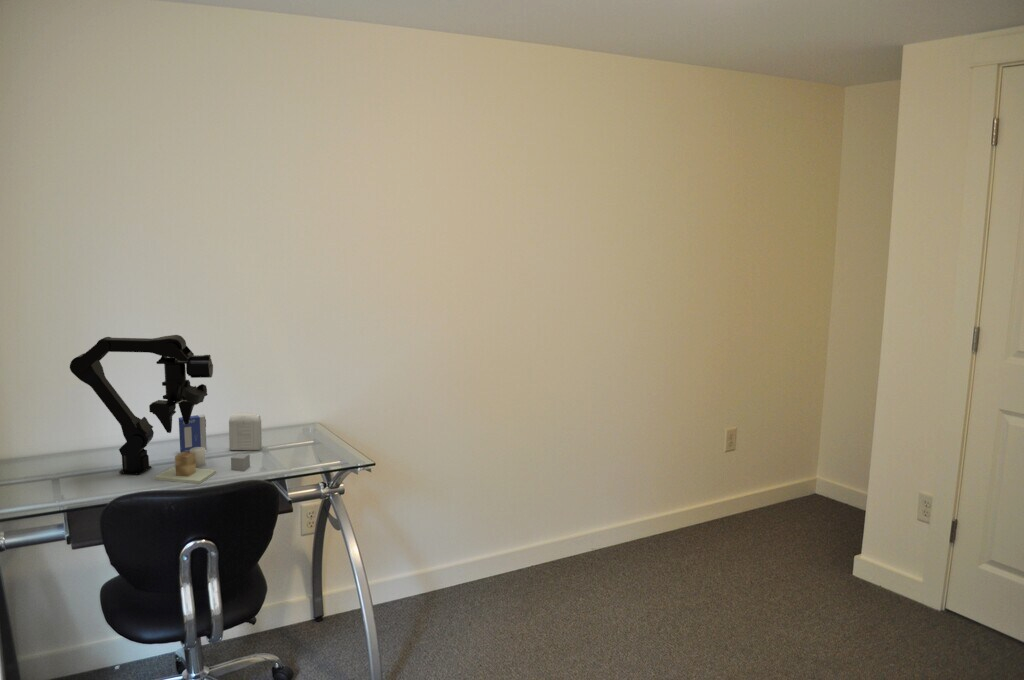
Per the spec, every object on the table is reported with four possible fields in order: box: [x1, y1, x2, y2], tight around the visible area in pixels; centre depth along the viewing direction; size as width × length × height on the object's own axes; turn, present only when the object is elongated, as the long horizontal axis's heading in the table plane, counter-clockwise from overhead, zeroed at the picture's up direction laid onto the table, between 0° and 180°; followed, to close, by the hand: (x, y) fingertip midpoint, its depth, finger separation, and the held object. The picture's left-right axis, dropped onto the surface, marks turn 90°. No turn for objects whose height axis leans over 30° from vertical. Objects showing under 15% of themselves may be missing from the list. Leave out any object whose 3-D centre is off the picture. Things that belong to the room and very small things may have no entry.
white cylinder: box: [190, 447, 207, 468], centre depth 233 cm, size 4×4×5 cm
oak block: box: [174, 452, 197, 477], centre depth 223 cm, size 4×4×6 cm
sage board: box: [154, 466, 217, 484], centre depth 223 cm, size 14×9×1 cm, turn 82°
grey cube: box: [230, 453, 251, 472], centre depth 231 cm, size 4×4×4 cm
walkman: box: [178, 414, 208, 453], centre depth 244 cm, size 8×3×12 cm, turn 125°
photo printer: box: [228, 412, 263, 451], centre depth 248 cm, size 10×4×12 cm, turn 98°
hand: (178, 428), depth 227 cm, fingers open, 9 cm apart
